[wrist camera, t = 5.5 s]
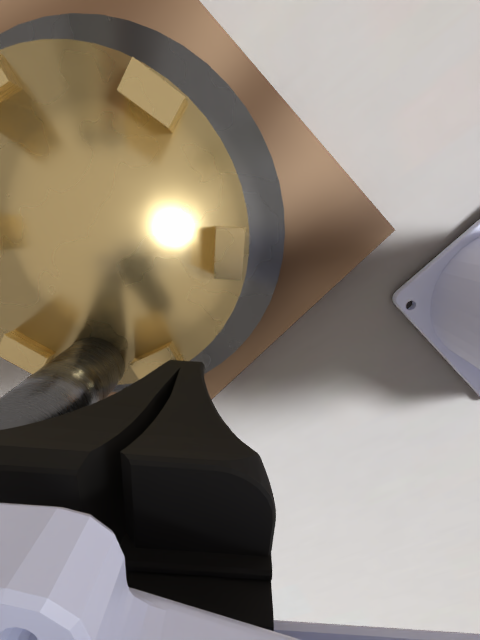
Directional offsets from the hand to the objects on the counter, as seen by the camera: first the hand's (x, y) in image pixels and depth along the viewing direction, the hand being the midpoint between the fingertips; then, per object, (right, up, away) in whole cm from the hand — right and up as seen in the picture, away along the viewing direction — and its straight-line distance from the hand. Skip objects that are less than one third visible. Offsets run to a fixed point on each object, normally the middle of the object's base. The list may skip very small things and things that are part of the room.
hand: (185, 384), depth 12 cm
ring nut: (-4, +6, +1) cm, 7 cm away
